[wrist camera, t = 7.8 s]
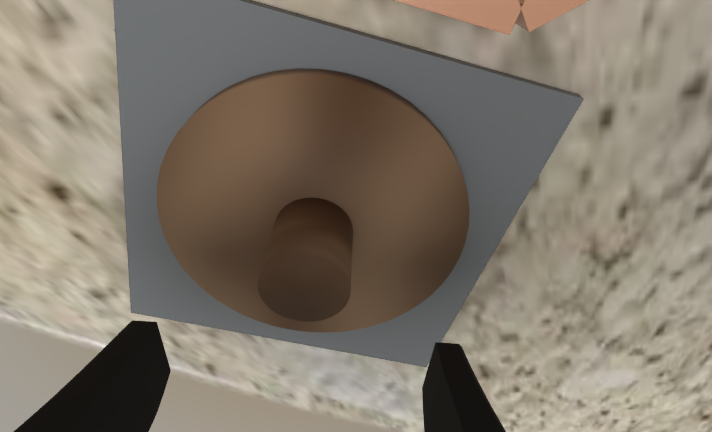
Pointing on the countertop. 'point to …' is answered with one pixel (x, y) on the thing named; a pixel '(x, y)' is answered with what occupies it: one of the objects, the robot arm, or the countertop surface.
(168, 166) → the lid
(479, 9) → the bowl
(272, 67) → the mat
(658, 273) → the countertop surface
